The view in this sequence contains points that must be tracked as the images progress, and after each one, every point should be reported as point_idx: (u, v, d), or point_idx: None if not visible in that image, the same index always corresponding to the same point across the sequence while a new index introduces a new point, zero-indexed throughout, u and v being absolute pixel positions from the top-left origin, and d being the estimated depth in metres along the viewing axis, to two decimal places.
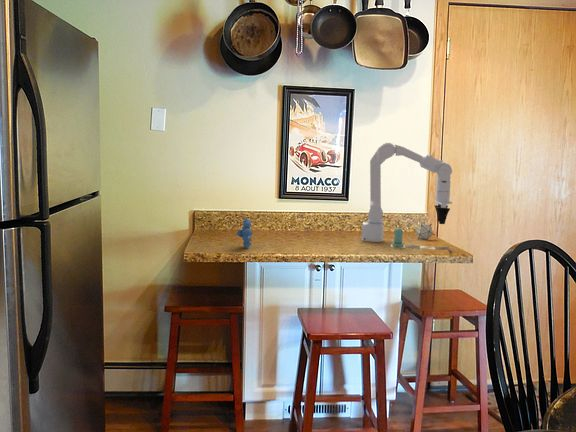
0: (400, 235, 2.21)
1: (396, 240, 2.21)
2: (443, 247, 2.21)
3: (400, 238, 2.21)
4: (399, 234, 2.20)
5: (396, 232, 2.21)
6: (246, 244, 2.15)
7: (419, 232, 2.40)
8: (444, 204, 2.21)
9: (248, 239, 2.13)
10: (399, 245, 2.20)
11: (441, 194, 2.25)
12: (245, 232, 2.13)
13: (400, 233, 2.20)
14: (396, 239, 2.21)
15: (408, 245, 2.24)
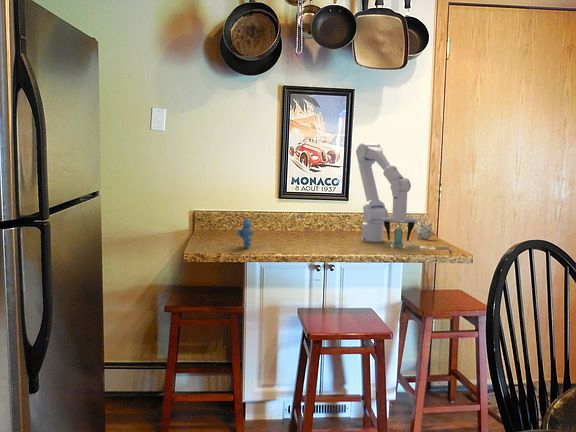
0: (400, 235, 2.21)
1: (396, 240, 2.21)
2: (443, 247, 2.21)
3: (400, 238, 2.21)
4: (399, 234, 2.20)
5: (396, 232, 2.21)
6: (246, 244, 2.15)
7: (419, 232, 2.40)
8: (381, 218, 2.22)
9: (248, 239, 2.13)
10: (399, 245, 2.20)
11: None
12: (245, 232, 2.13)
13: (400, 233, 2.20)
14: (396, 239, 2.21)
15: (408, 245, 2.24)
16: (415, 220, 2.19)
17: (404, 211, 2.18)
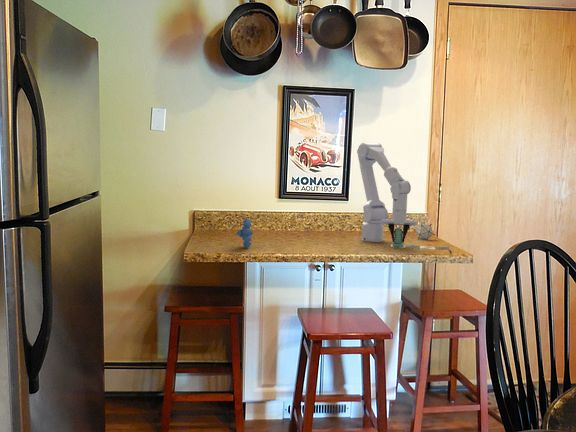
0: (400, 235, 2.21)
1: (396, 240, 2.21)
2: (443, 247, 2.21)
3: (400, 238, 2.21)
4: (399, 234, 2.20)
5: (396, 232, 2.21)
6: (246, 244, 2.15)
7: (419, 232, 2.40)
8: (381, 220, 2.22)
9: (248, 239, 2.13)
10: (399, 245, 2.20)
11: None
12: (245, 232, 2.13)
13: (400, 233, 2.20)
14: (396, 239, 2.21)
15: (408, 245, 2.24)
16: (415, 222, 2.19)
17: (404, 213, 2.18)
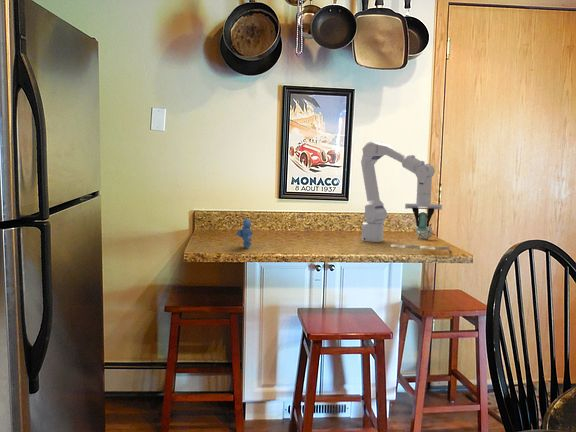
0: (424, 219, 2.18)
1: (420, 224, 2.18)
2: (443, 247, 2.21)
3: (424, 222, 2.18)
4: (424, 218, 2.17)
5: (420, 216, 2.18)
6: (246, 244, 2.15)
7: (419, 232, 2.40)
8: (405, 204, 2.20)
9: (248, 239, 2.13)
10: (423, 229, 2.18)
11: None
12: (245, 232, 2.13)
13: (424, 217, 2.17)
14: (420, 223, 2.18)
15: (408, 245, 2.24)
16: (440, 206, 2.16)
17: (428, 197, 2.16)
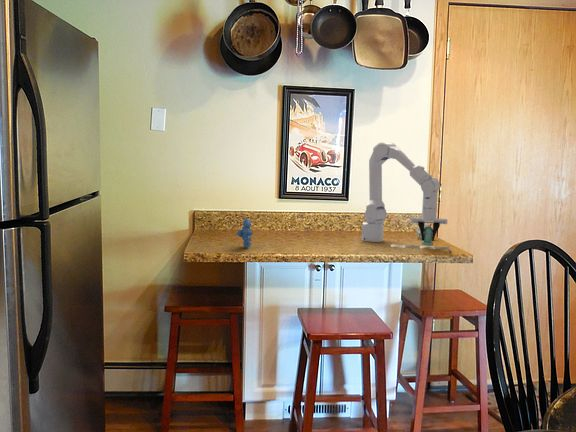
0: (430, 233, 2.18)
1: (425, 238, 2.19)
2: (443, 247, 2.21)
3: (430, 236, 2.18)
4: (429, 232, 2.18)
5: (426, 230, 2.18)
6: (246, 244, 2.15)
7: (419, 232, 2.40)
8: None
9: (248, 239, 2.13)
10: (429, 244, 2.18)
11: None
12: (245, 232, 2.13)
13: (430, 231, 2.18)
14: (426, 237, 2.19)
15: (408, 245, 2.24)
16: (445, 220, 2.17)
17: (434, 211, 2.16)
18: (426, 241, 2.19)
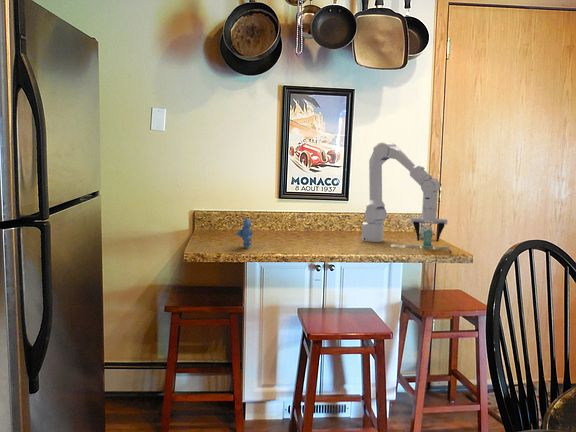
0: (430, 236, 2.18)
1: (425, 241, 2.19)
2: (443, 247, 2.21)
3: (429, 239, 2.18)
4: (429, 235, 2.18)
5: (425, 233, 2.18)
6: (246, 244, 2.15)
7: (419, 232, 2.40)
8: None
9: (248, 239, 2.13)
10: (429, 247, 2.18)
11: None
12: (245, 232, 2.13)
13: (430, 234, 2.18)
14: (425, 240, 2.19)
15: (408, 245, 2.24)
16: (445, 221, 2.17)
17: (434, 212, 2.16)
18: (426, 244, 2.19)
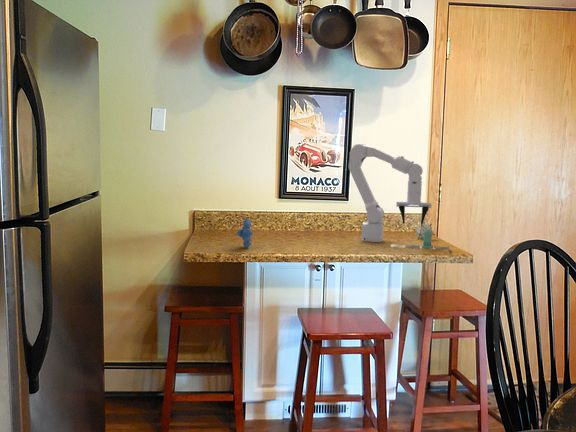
0: (429, 236, 2.18)
1: (425, 241, 2.19)
2: (443, 247, 2.21)
3: (429, 239, 2.18)
4: (429, 235, 2.18)
5: (425, 233, 2.18)
6: (246, 244, 2.15)
7: (419, 232, 2.40)
8: (396, 203, 2.29)
9: (248, 239, 2.13)
10: (429, 247, 2.18)
11: None
12: (245, 232, 2.13)
13: (430, 234, 2.18)
14: (425, 240, 2.19)
15: (408, 245, 2.24)
16: (429, 204, 2.26)
17: (418, 196, 2.25)
18: (426, 244, 2.19)
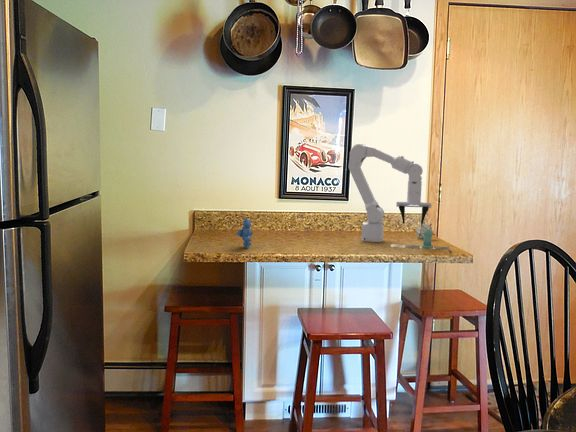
0: (430, 236, 2.18)
1: (425, 241, 2.19)
2: (443, 247, 2.21)
3: (430, 239, 2.18)
4: (429, 235, 2.18)
5: (426, 233, 2.18)
6: (246, 244, 2.15)
7: (419, 232, 2.40)
8: (396, 203, 2.29)
9: (248, 239, 2.13)
10: (429, 247, 2.18)
11: None
12: (245, 232, 2.13)
13: (430, 234, 2.18)
14: (425, 240, 2.19)
15: (408, 245, 2.24)
16: (429, 204, 2.26)
17: (418, 196, 2.25)
18: (426, 244, 2.19)
